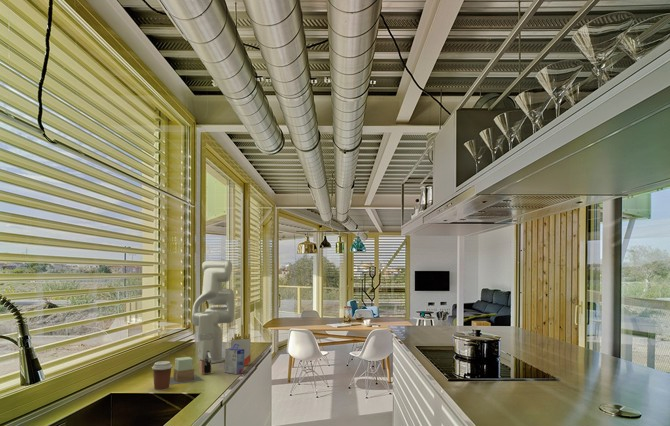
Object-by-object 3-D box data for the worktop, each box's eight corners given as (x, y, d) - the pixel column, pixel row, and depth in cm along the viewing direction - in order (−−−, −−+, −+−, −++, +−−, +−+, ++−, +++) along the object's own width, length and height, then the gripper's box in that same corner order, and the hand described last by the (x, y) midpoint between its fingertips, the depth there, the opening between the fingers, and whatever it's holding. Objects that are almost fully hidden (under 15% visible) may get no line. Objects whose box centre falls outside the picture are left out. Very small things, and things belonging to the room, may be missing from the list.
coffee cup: (167, 386, 224) (167, 359, 225) (175, 389, 217) (176, 362, 218) (147, 389, 217) (148, 362, 219) (155, 393, 211) (156, 365, 212)
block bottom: (173, 378, 236) (173, 368, 237) (189, 376, 240) (189, 366, 241) (177, 382, 230) (177, 371, 230) (193, 379, 234) (194, 369, 234)
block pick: (198, 373, 249) (199, 360, 250) (208, 372, 252) (208, 359, 253) (201, 375, 245) (201, 361, 246) (211, 374, 248) (211, 360, 248)
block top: (174, 368, 237) (175, 358, 237) (189, 366, 240) (189, 356, 241) (178, 371, 231) (178, 360, 231) (192, 369, 234) (193, 358, 235)
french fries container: (230, 365, 270) (230, 333, 272) (250, 364, 272) (250, 332, 274) (230, 367, 265) (231, 334, 267) (250, 365, 268) (250, 333, 270)
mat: (163, 379, 238) (163, 378, 238) (195, 375, 246) (195, 374, 246) (170, 385, 224) (170, 384, 224) (204, 381, 232) (204, 380, 232)
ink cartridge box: (244, 372, 250) (245, 344, 252) (236, 374, 246) (237, 346, 247) (232, 370, 256) (232, 343, 258) (224, 372, 252) (224, 344, 253)
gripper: (194, 335, 256) (193, 369, 254) (203, 339, 241) (202, 375, 239) (207, 334, 260) (207, 367, 258) (217, 338, 245) (217, 373, 243)
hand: (205, 371), depth 249 cm, fingers open, 7 cm apart
